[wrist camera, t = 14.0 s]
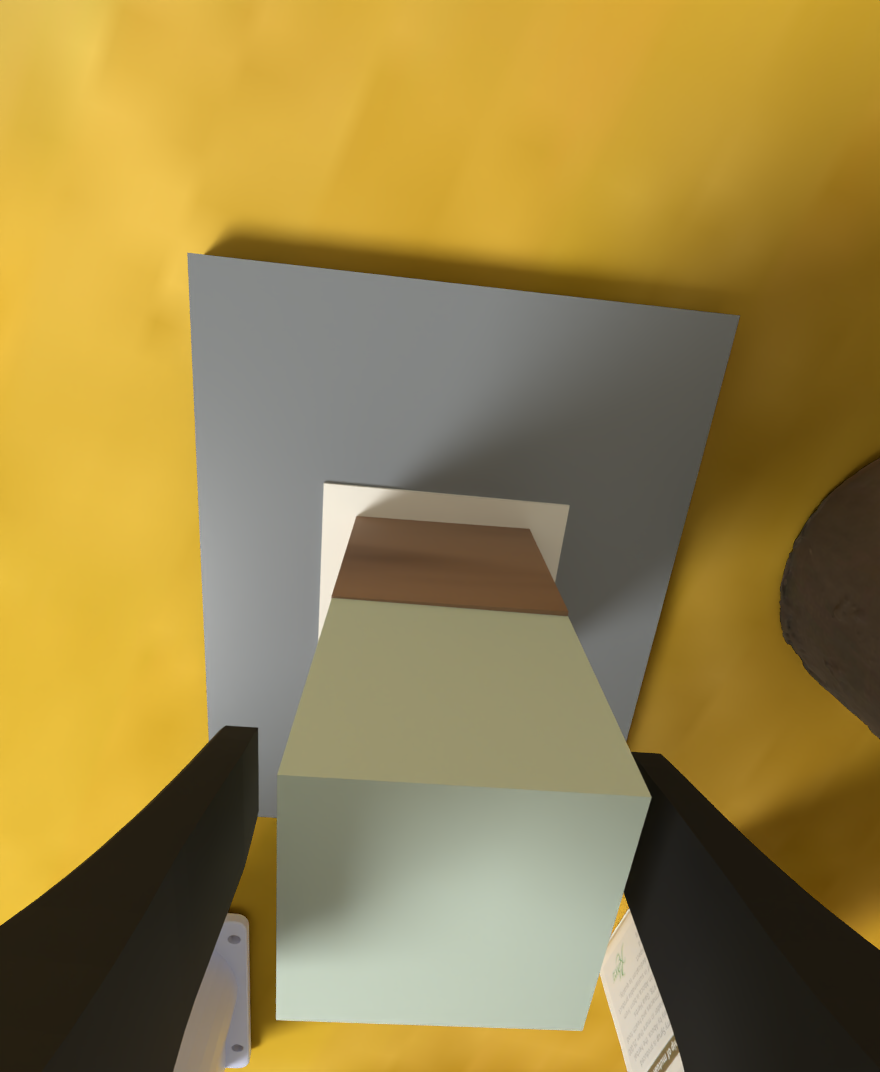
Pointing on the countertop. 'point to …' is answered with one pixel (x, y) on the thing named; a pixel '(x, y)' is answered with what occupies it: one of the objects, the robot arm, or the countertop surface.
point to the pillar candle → (839, 595)
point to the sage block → (450, 822)
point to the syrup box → (637, 1004)
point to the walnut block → (447, 567)
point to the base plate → (432, 455)
